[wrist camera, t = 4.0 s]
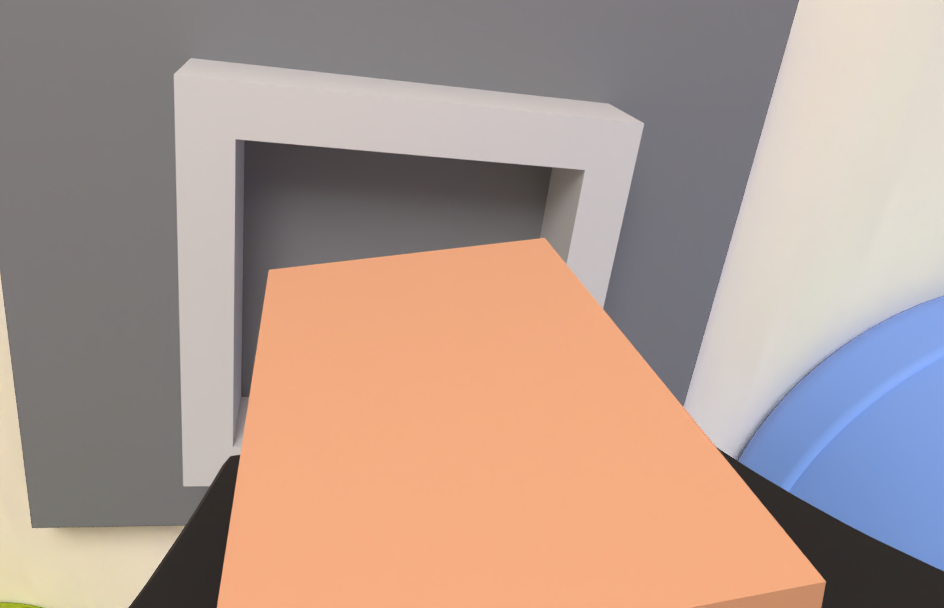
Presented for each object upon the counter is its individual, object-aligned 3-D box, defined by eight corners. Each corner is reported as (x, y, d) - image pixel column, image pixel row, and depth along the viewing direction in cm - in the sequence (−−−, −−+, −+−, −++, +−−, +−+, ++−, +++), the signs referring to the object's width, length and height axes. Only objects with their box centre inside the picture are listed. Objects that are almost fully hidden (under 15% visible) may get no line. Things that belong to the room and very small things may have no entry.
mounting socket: (776, -13, 17) (861, -4, 14) (638, 494, 23) (681, 568, 20) (-27, -135, 14) (-111, -153, 11) (44, 500, 19) (1, 591, 17)
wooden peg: (544, 237, 11) (826, 581, 5) (548, 460, 13) (763, 925, 7) (268, 269, 11) (201, 699, 5) (309, 498, 12) (301, 1045, 6)
